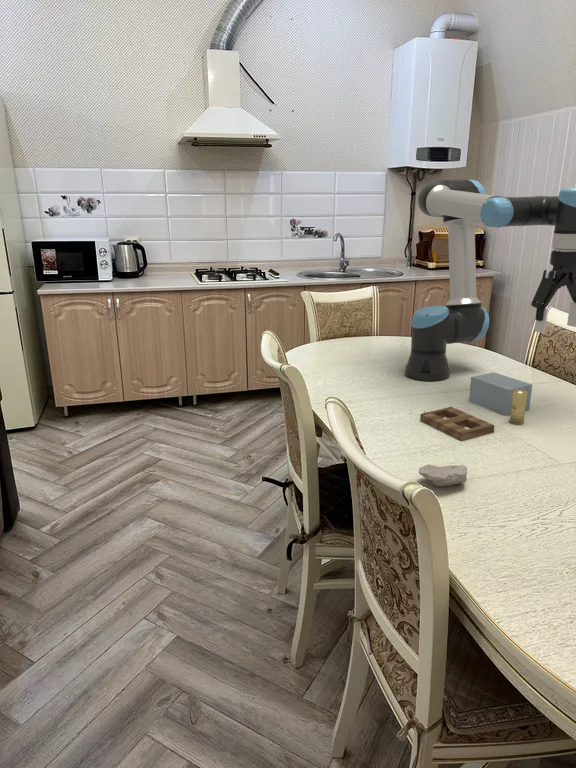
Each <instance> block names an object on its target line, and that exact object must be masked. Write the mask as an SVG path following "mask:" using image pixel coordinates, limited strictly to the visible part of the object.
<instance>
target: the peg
mask: <svg viewBox="0 0 576 768" xmlns="http://www.w3.org/2000/svg"><path fill="white" fill-rule="evenodd" d="M526 400H527V390H524V389H514V390H513V394H512V403H511V413H510V415H509V423H510V424H512V425H517V426H522V425H524V423H525V415H526V411H525V409H526Z"/></svg>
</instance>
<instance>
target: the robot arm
mask: <svg viewBox="0 0 576 768" xmlns="http://www.w3.org/2000/svg"><path fill="white" fill-rule="evenodd" d="M417 206H418V208H419V210H420V212H422V213H423V215H426V216H428V217H433V218H442V223H443V225H444V226H445V227H446V228H447V235H448V237H447V238H448V240H447V241H448V267H449V268H448V269H449V292H450V293H449V295H450V296H449V297H450V298H449V300H448V301H447V303H446V305H445V306H444V305H431V306H428V305H427V306H425V307H420V308H418V309H417V310H415V311H414V313H413V315H412V322H411V341H410V342H411V346H410V354H409V357H408V360H407V363H406V365H405V366H404V367H405V368H404V375H405V376H406V377H407V378H409V379H412V380H416V381H421V382H438V381H444V380H447V379H449V378H450V374H451V369H450V367H449V361H448V357H447V354H446V352H447V345H448V344H450V345H451V344H459V343H460V344H461V343H471V342H474V341H478V340H481V339H482V338H483V337H485V335H486V334H487V332H488V331H489V326H490V316H489V313H488V311H487V310H486V308H485V307H482V301H481V300H480V299H479V298H478V297H477V275H476V274H477V272H476V271H477V268H476V264H477V263H476V230H475V226H476V224H477V223H478V222H480V223H483V225H484V226H486V227H488V228H496V229H497V228H502V227H503V228H505V227H523V226H524V227H527V226H528V227H529V226H554V229H553V235H552V236H553V237H552V244H551V248H552V249H553V250H552V251H551V253H550V259H549V264H550V265H551V266H552V269H551V270H547V269H544V270H543V274H542V278H541V281H540V282H539V285H538V287H537V289H536V292H535V294H534V296H533V298H532V301H531V304H530V306H532V307H533V308H536V310H535V311H536V312H535V318H534V319H535V324H534V332H535V333H540V334H546V330H547V329H546V327H547V320H548V312H549V308H547V307H548V306H549V304H550V302H551V301H552V299H553V298H554V296H555V294H556V293H557V292H558V290H559V289H561V288H562V287H566V289H567V292H568V293H569V296H570V297H571V300H572V301H570V303H569V309H568V317H567V323H566V324H567V325H566V326H568V327H573V328H574V327H575V328H576V187H570V188H569V187H567V188H561V189H560V190H559V193H558V195H557V196H555V195H554V196H552V195H550V196H549V195H545V196H544V195H536V196H535V195H534V196H517V197H516V196H502V195H493V194H487V193H486V189H485V187H484V186H483V185H482V184H481V182H480V181H477V180H475V179H474V180H473V179H467V178H465V179H437V180H432V181H430V182H428V183H426V184H425V185H424V186H423V187H421V189H420V191H419V192H418V196H417Z"/></svg>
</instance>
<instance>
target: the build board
mask: <svg viewBox="0 0 576 768" xmlns="http://www.w3.org/2000/svg"><path fill="white" fill-rule="evenodd" d="M445 418H446V419H445ZM419 420H421V421H420V422H422V421H423V422H422V423H424V422H425V423H424V424H426V423H427V425H428V424H429V426H430V425H431V427H432V426H433V428H434V427H435V429H437V430H439V431H441V432H442V433H445V434H447V435H449V436H451V437H453V438H455V439H457V440H459V441H461V442H463V441H466V440H470V439H474V438H478V437H482V436H485V435H489V434H492V433H493V434H494V433H495V424H493V423H490V422H488V421H485V420H484V419H481V418H478V417H476V416H475V415H472V414H470V413H467V412H464V411H462V410H460V409H458V408H455V407H453V406H449V407H444V408H440V409H436V410H430V411H427V412H422V413H420V419H419ZM465 427H468V429H467V428H465Z"/></svg>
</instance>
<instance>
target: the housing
mask: <svg viewBox="0 0 576 768" xmlns="http://www.w3.org/2000/svg"><path fill="white" fill-rule="evenodd" d="M469 387H470V388H469V398H468V399H469V400H468V401H469V402H471V403H473V404H476V405H479V406H481V407H484V408H487V409H488V410H491V411H494V412H497V413H499V414H501V415H503V416H510V413H511V403H512V394H513V390H514V389H524V390H527V400H526V409H525V412H526V411H530V407H531V398H532V392H533V391H532V390H533V384H532V383H528V382H525V381H522V380H519V379H516V378H512V377H510V376H507V375H504V374H502V373H501V374H500V373H498V372H495V371H492V372H488V373H483V374H478V375H473V376H471V377H470V385H469Z"/></svg>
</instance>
